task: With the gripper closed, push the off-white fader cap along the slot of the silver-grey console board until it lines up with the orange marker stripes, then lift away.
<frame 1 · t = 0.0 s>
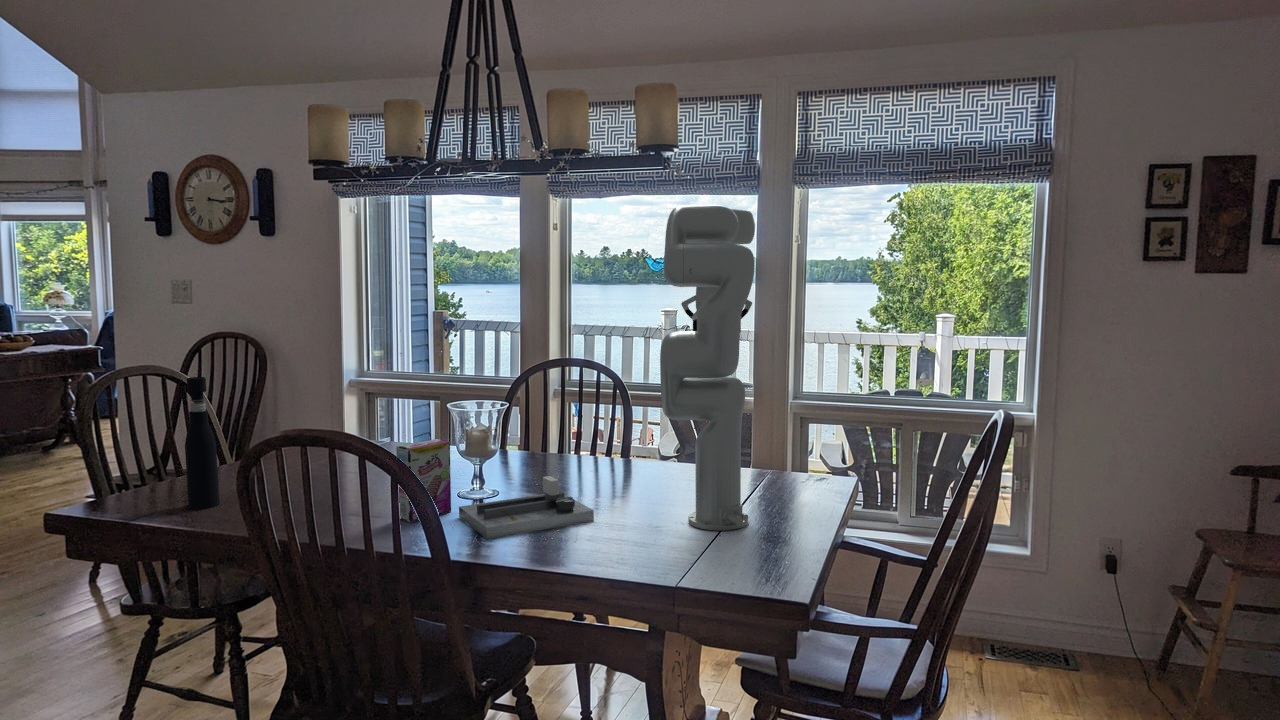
hand: (716, 336, 210), 37 cm above the table, tool pointing down, fingers open, 9 cm apart
black water bottle: (204, 506, 199), on the table
candy bar box: (425, 517, 188), on the table
console: (525, 519, 185), on the table
fader: (550, 491, 188), point 5 cm above the table, slide at -6.0 cm
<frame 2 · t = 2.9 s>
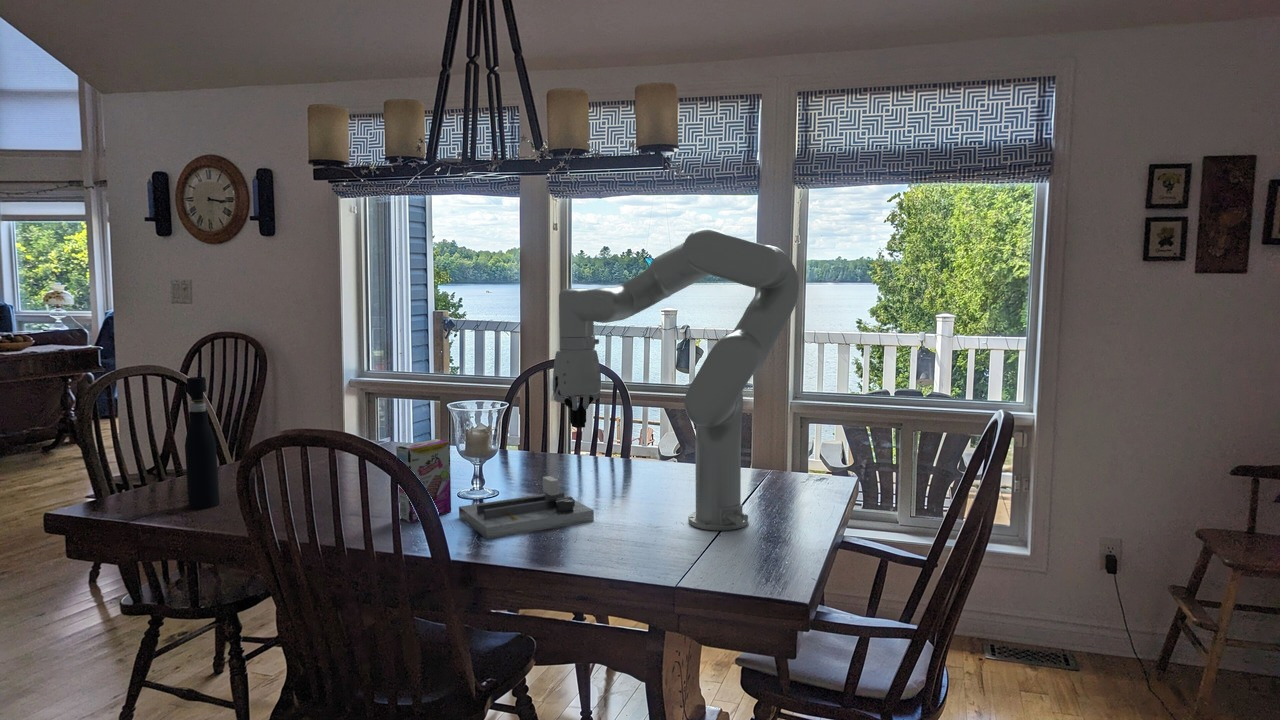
hand: (578, 426, 190), 19 cm above the table, tool pointing down, fingers closed
nothing on the table moved.
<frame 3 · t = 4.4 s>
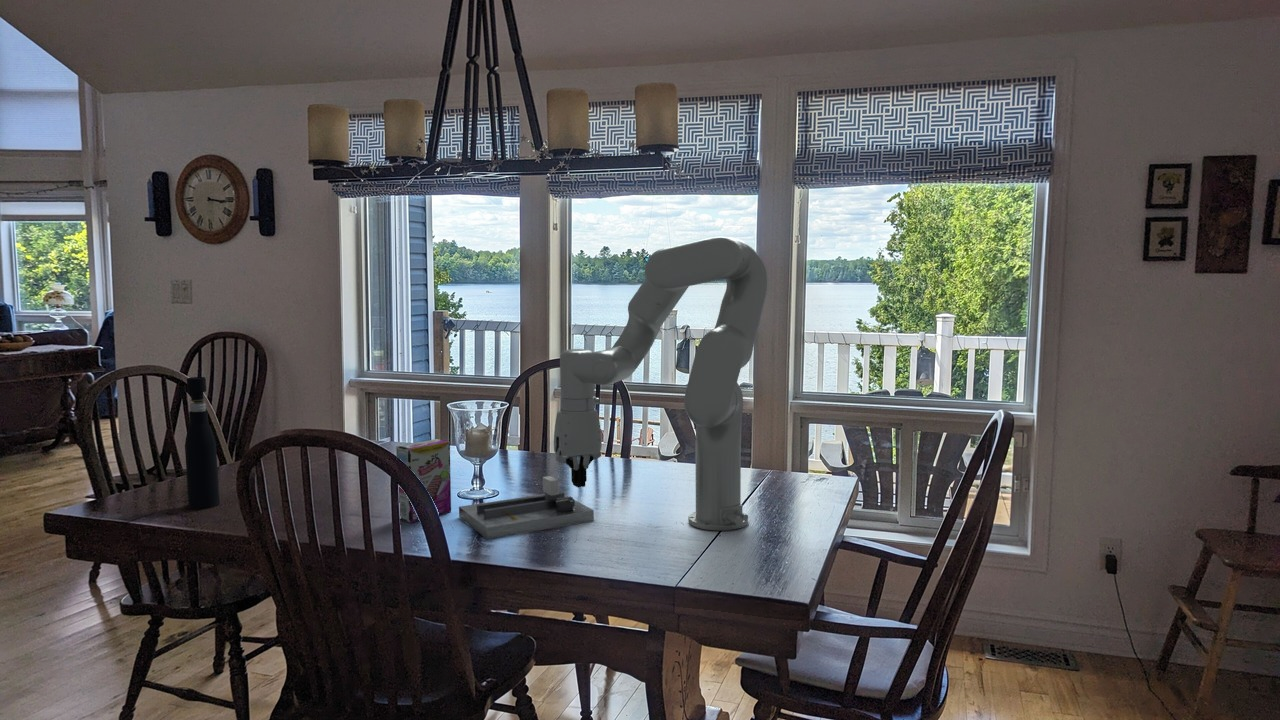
hand: (579, 485, 191), 6 cm above the table, tool pointing down, fingers closed
nothing on the table moved.
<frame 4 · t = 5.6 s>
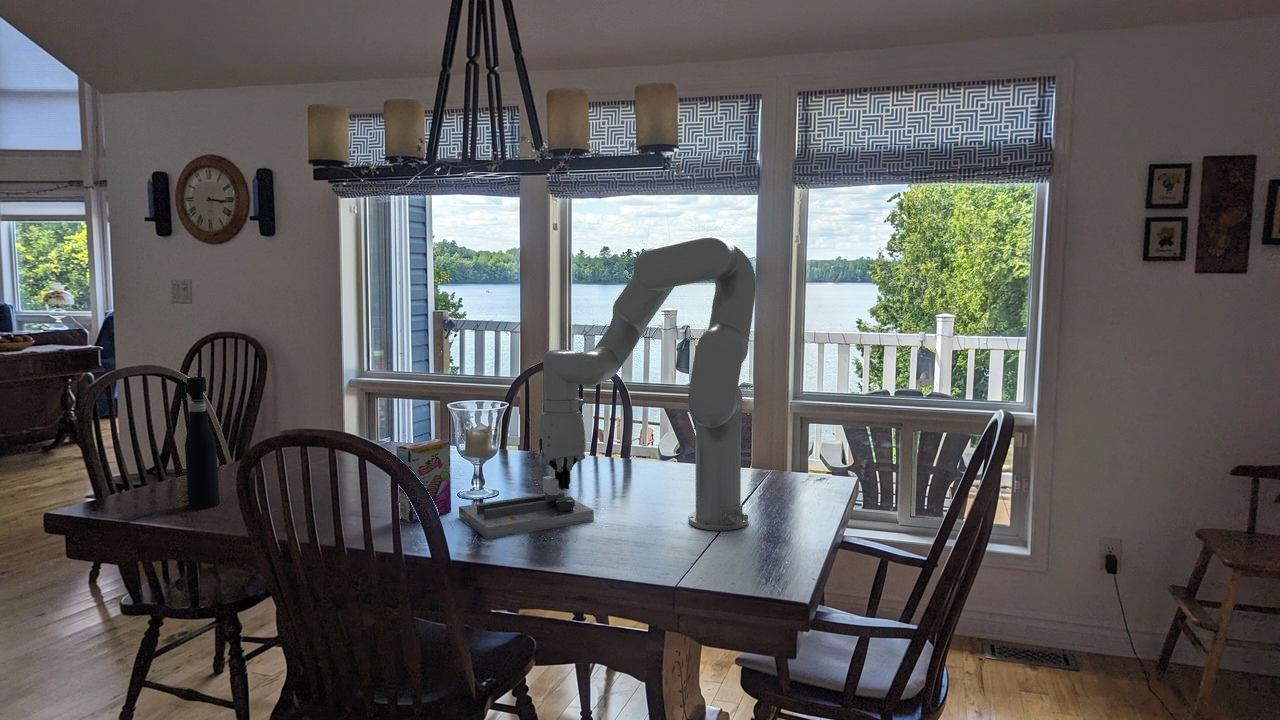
hand: (562, 487, 189), 6 cm above the table, tool pointing down, fingers closed
fader: (550, 491, 188), point 5 cm above the table, slide at -6.0 cm, touching gripper
everything else where it was.
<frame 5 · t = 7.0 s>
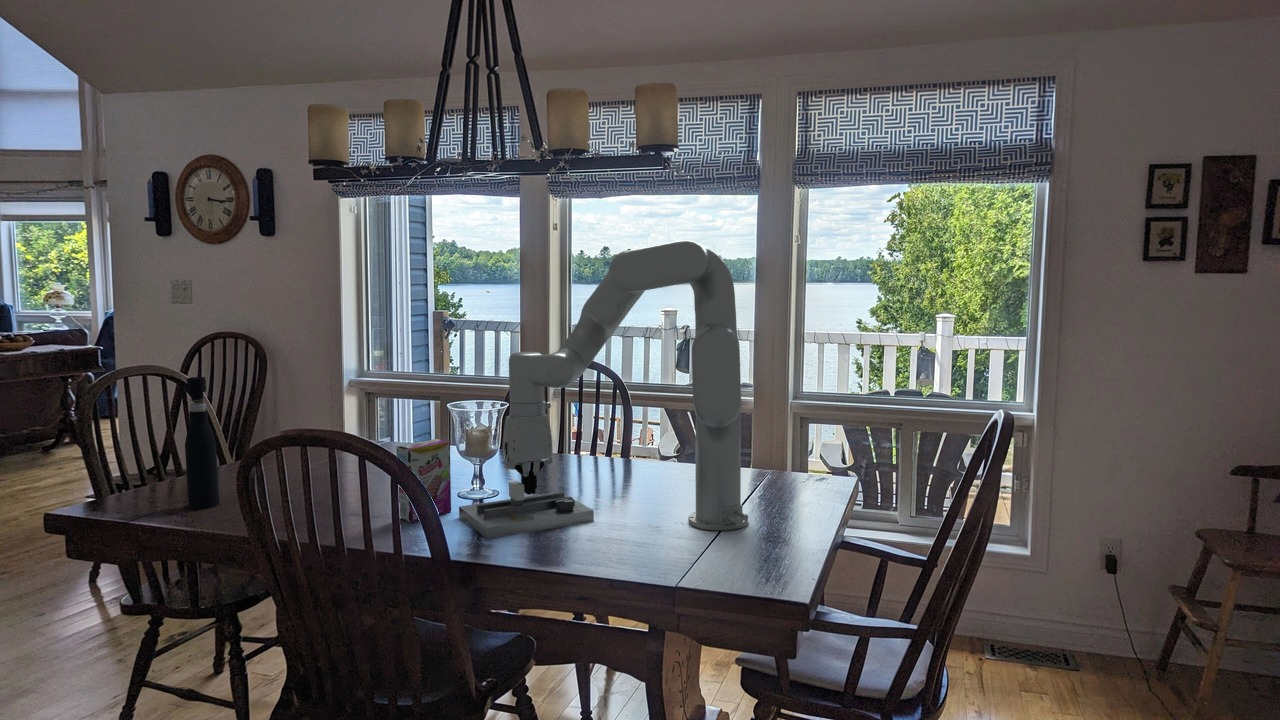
hand: (529, 492, 185), 6 cm above the table, tool pointing down, fingers closed
fader: (516, 496, 184), point 5 cm above the table, slide at 2.0 cm, touching gripper
everything else where it was.
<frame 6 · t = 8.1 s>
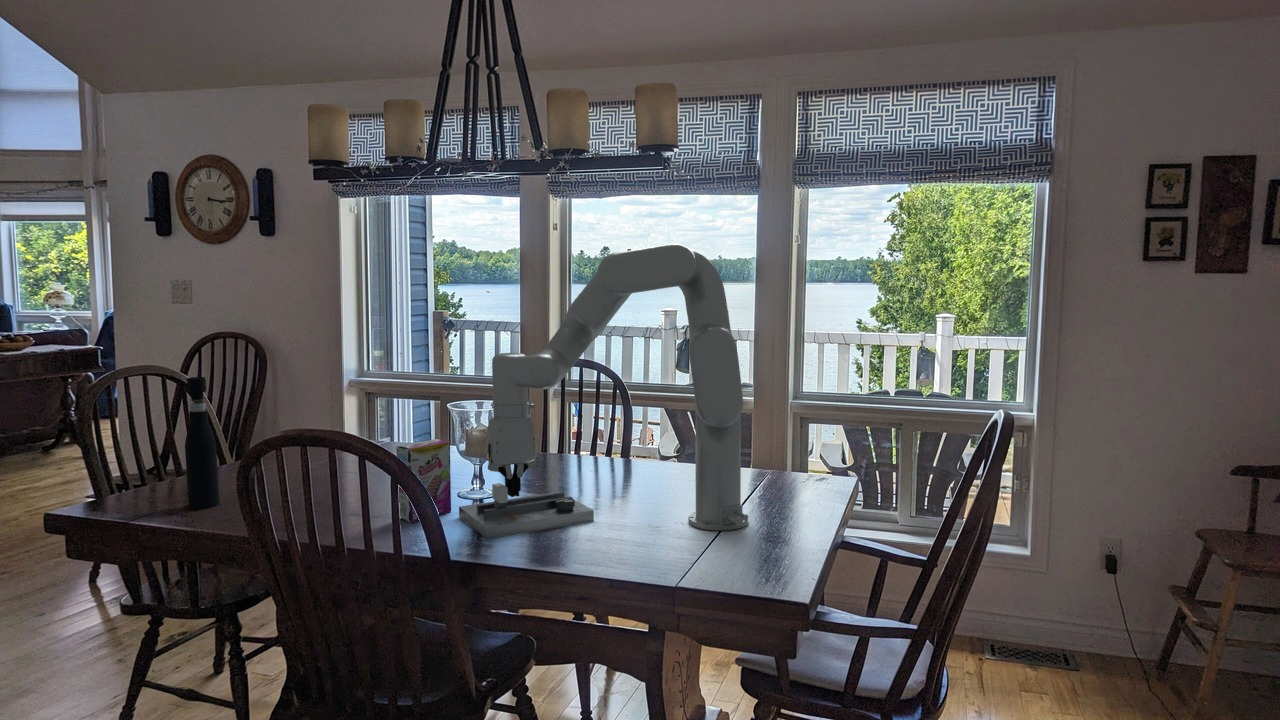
hand: (513, 495, 183), 6 cm above the table, tool pointing down, fingers closed
fader: (500, 498, 182), point 5 cm above the table, slide at 5.7 cm, touching gripper
everything else where it was.
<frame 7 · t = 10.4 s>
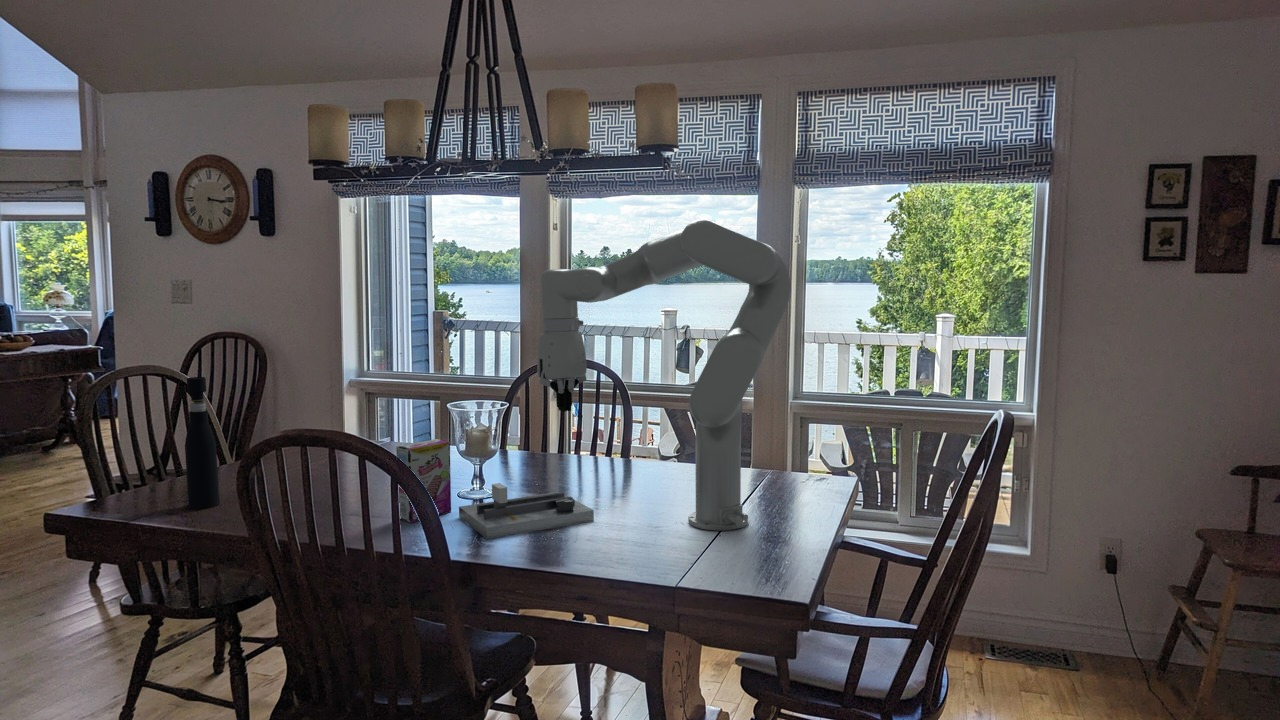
hand: (564, 410, 186), 23 cm above the table, tool pointing down, fingers closed
fader: (499, 498, 182), point 5 cm above the table, slide at 5.8 cm
everything else where it was.
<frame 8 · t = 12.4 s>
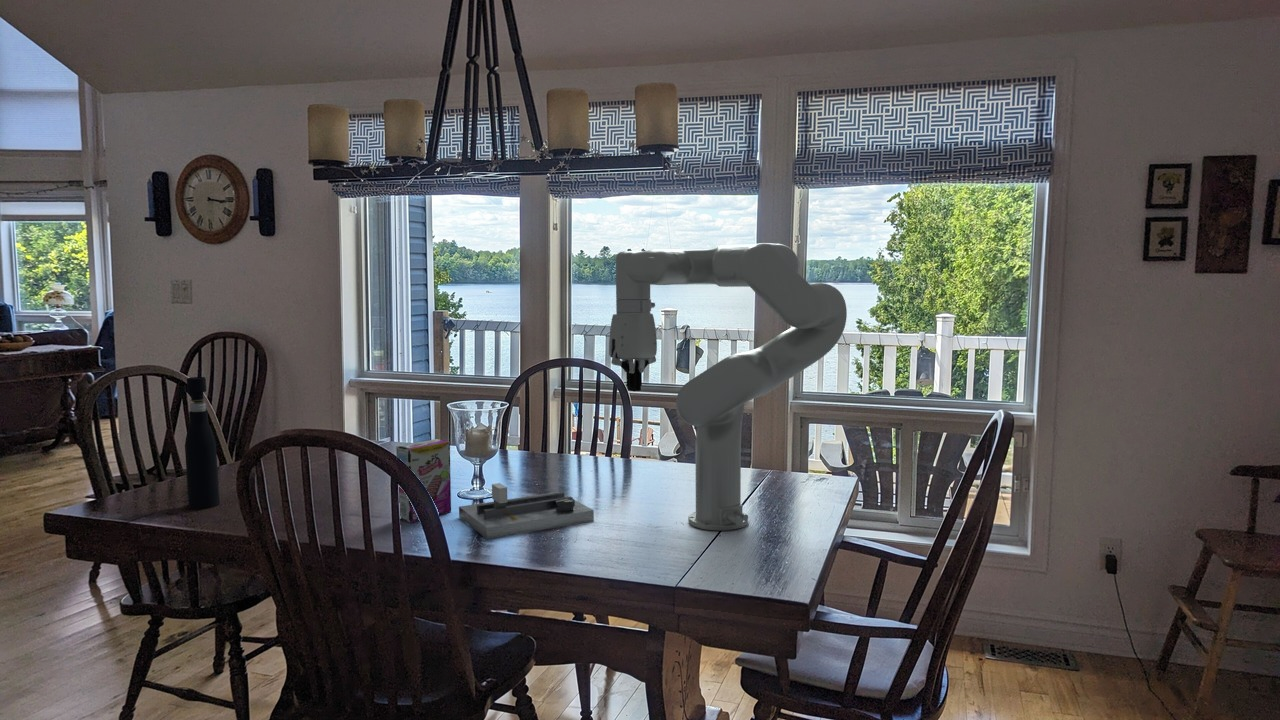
hand: (634, 390, 189), 27 cm above the table, tool pointing down, fingers closed
nothing on the table moved.
at the end: fader slide at 5.8 cm; fader touching nothing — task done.
